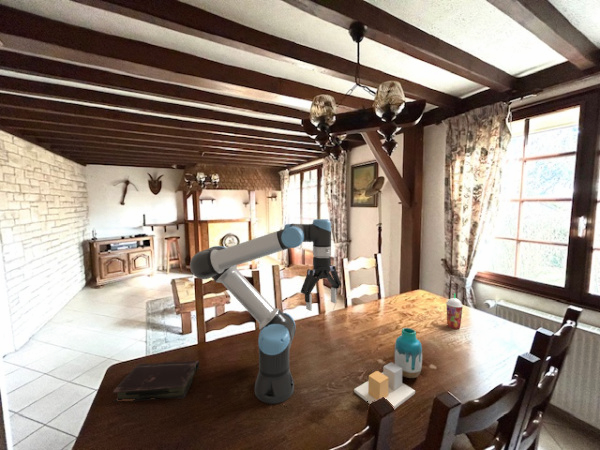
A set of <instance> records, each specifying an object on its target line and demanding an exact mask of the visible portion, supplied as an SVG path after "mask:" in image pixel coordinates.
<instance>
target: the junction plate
mask: <svg viewBox="0 0 600 450" xmlns="http://www.w3.org/2000/svg"><path fill="white" fill-rule="evenodd" d="M382 369H383V371H382V372H381V373H382V374H384V375H385V376H387V377H388V378H389V380H388V396H387V397H386V398H385V399H387V400H388V401H389V402H390V403H391V404H392V405H393V406H394V407H395V409H397V408H398V407H400V406H401V405H402V404H403V403H405V402H406V401H408V399H410V398H411V397H413V396H414V395H415V394H416V390H415V389H413V388H412V387H410V386H409V385H407V384H405V383H403V376H402V368H401V367H399V366H398V365H396V364H395V362H392V361H390V362H389V363H387V364H385V365H384V366H383V368H382ZM368 383H369V380H367V381H366V382H364V383H362V384H360V385H358V386H357V387H355V388H354V389H353V391H354V393H355V394H356V395H357V396H359V397H360V398H361V399H363V400H364V401H365V402H367V401H368V402H367V403H368V404H369V403H370V402H372V401H374V400H376V399H375V398H374V397H372V396H371V395H369V394H368Z"/></svg>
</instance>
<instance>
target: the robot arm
mask: <svg viewBox="0 0 600 450" xmlns="http://www.w3.org/2000/svg"><path fill="white" fill-rule="evenodd" d="M302 243H312V255H313V257H312V265H313V269H310V268H308V269H307V270H306V276H305V278H304V281H303V284H302V287H301V288H300V289H301V290H300V293H301V294H303V295H304V302H305V309H306V310H308V311H310V312H311V311H312V308H313V306H312V304H313V302H312V301H313V295H312V294H311V293H312V292H313V290H314V288H315V286H316V285H317V283H318V282H319V281H320V280H323V279H326V280H327V281H328V283H330V285H331V287H330V302H331V303H333V304H337V295H338V289H340V286H342V283H341V280H340V278H339V275H338V273H337V267H336V265H333V264H332V257H331V256H332V222H331V220H330V219H328V218H327V219H326V218H325V219H324V218H319V219H315V218H314V219H313V221H312V223H308V224H307V223H287V224H285V225H284V227H283V229H279V230H277V231H274V232H271V233H267V234H265V235H261V236H259V237H256V238H253V239H250V240H246V241H243V242H241V243H238V244H235V245H231V246H228V247H225V246H222V245H218V246H216V245H214V246H211V247H209V248H207V249H203V250H201V251H198V252H196V253H195V254H194V255H193V256H192V257H191V260H190V262H189V268H190V272H191V273H192V275H193V276H194V277H195V278H197V279H200V280H208V279H210V278H212V280H213V281H214V282H215V283H216V284H217V283H220V284H222V285H223V286H224V287H225V288H226V289H227V291H228V292H230V293H231V294H232V296H233V297H234V298H235V299H236V300H237V301H238V302H239V304H240V305H241V306H243V308H244V309H245V310H246V311H247V312H248V313H249V314H250V315H251V316H252V317H253V318H254V320H256V321H257V323H258V326H259V327H258V329H259V330H260V331H259V333H258V340H257V341H258V342H257V344H258V372H257V377H256V379H255V383H254V394H255V397H256V398H257V399H258V400H259V401H261V402H262V403H265V404H271V405H273V404H274V405H275V404H281V403H283V402H285V401H287V400H288V399H290V398H291V397H292V395H293V393H294V392H295V391H294V390H295V382H294V378H293V376H292V372H291V368H290V350H291V347H292V343H293V340H294V337H295V336H296V335H295V334H296V322H295V320H294V318H293V316H291V315H290V314H289V313H287V312H283V311H282V310H281V309H279V308H274V307H273V306H272V305H271V304H270V303H269V301H267V300H266V298H265V297H264V296H263V295H262V294H261V293H260V292H259V291H258V290H257V289H256V288H255V287H254V286H253V285H252V284H251V283H250V282H249V280H248V279H247V278H246V277H245V276H244V275H243V274H242V273H241V272H240V271H239V270H238V266H240V265H242V264H245V263H248V262H251V261H254V260H257V259H260V258H264V257H266V256H270V255H272V254H273V255H274V254H276V253H279V252H282V251H285V250H289V249H294V248H297V247H299V246H301V245H302Z"/></svg>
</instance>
